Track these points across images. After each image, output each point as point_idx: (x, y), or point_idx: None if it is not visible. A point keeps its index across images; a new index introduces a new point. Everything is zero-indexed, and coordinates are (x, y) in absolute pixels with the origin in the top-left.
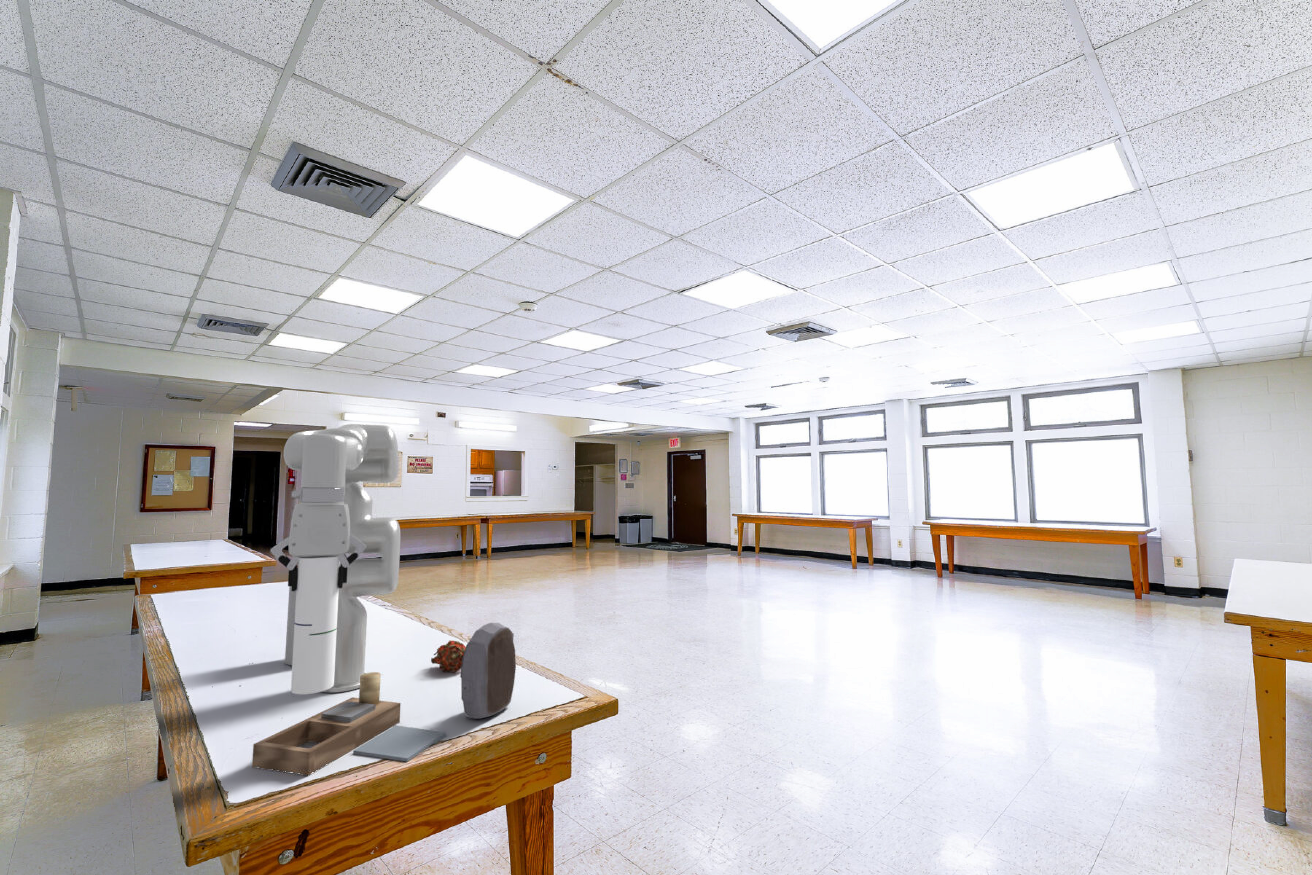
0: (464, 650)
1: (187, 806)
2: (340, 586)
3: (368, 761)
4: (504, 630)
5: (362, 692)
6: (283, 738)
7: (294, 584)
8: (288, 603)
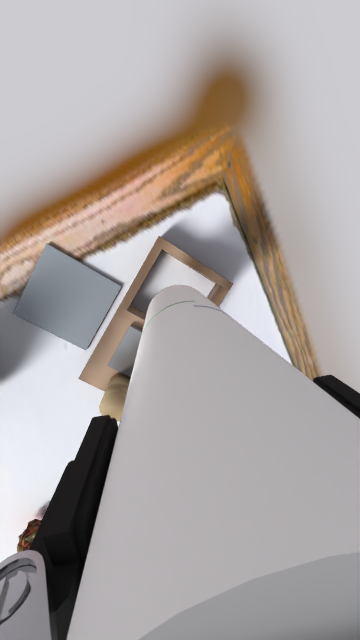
0: (18, 550)
1: (263, 200)
2: (100, 417)
3: (98, 258)
4: None
5: (126, 385)
6: None
7: (339, 391)
8: None
